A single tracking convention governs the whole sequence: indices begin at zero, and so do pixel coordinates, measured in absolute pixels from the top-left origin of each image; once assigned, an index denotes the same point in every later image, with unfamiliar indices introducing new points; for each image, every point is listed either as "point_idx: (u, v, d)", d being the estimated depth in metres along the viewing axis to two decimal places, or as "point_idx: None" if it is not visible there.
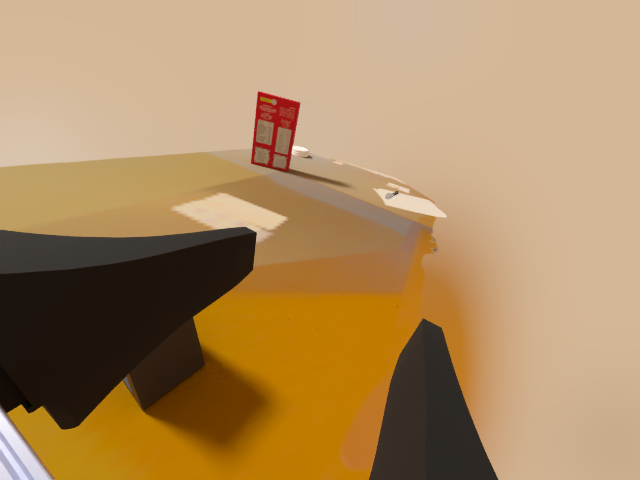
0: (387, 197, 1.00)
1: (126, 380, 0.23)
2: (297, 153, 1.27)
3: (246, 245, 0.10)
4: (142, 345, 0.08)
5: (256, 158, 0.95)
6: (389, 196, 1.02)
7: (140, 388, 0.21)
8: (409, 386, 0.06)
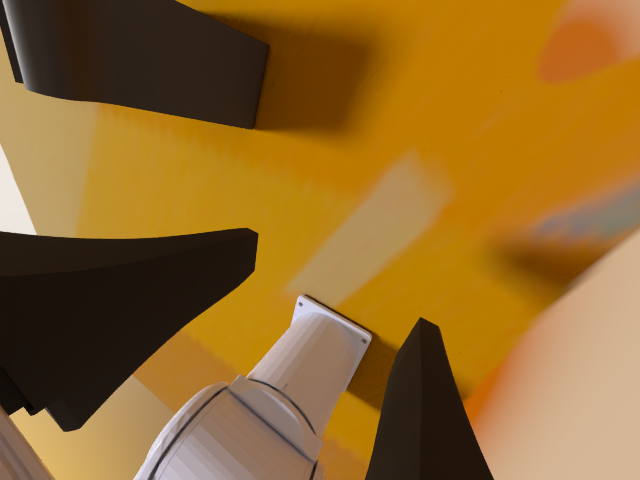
0: None
1: None
2: None
3: (248, 246, 0.10)
4: (144, 347, 0.07)
5: None
6: None
7: (227, 120, 0.19)
8: (405, 384, 0.06)
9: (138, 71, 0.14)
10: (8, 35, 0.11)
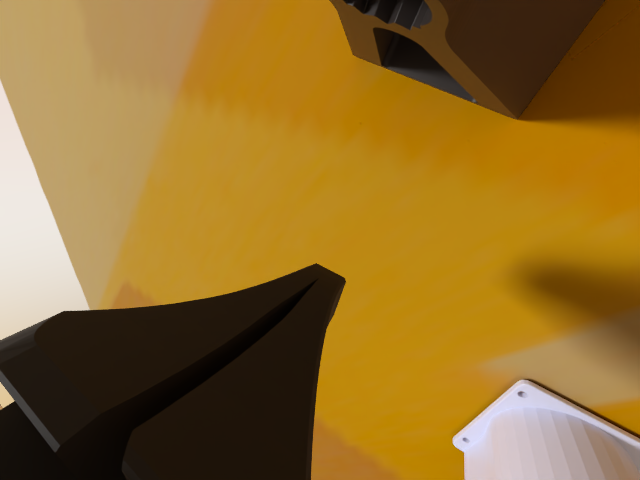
0: None
1: (446, 86, 0.12)
2: None
3: None
4: None
5: None
6: None
7: (515, 100, 0.10)
8: None
9: None
10: None
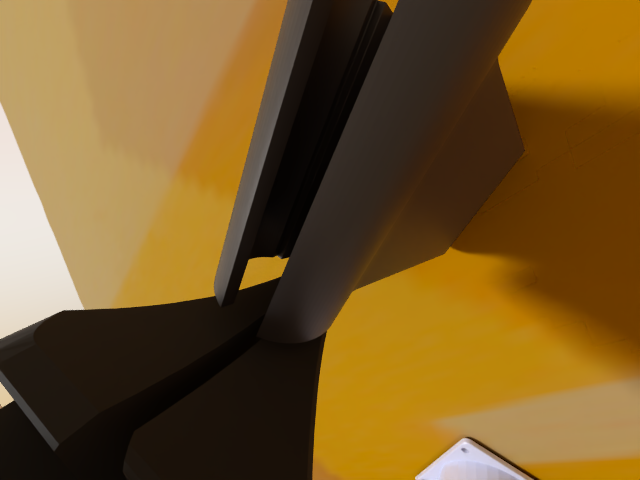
0: None
1: None
2: None
3: None
4: None
5: None
6: None
7: (435, 253, 0.12)
8: None
9: (409, 230, 0.07)
10: (254, 224, 0.04)
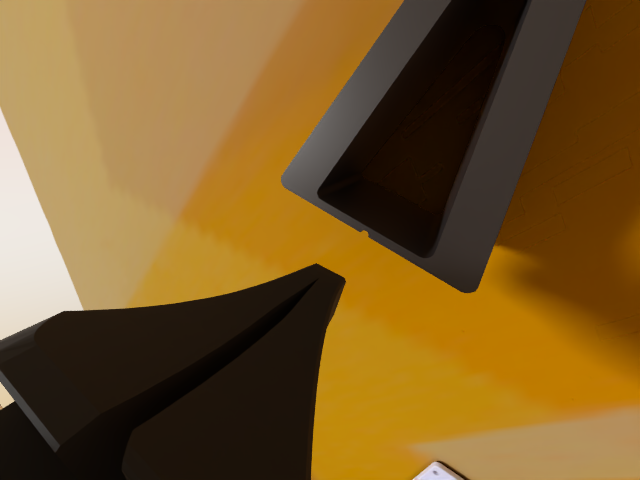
0: None
1: (388, 236, 0.10)
2: None
3: None
4: None
5: None
6: None
7: None
8: None
9: None
10: None
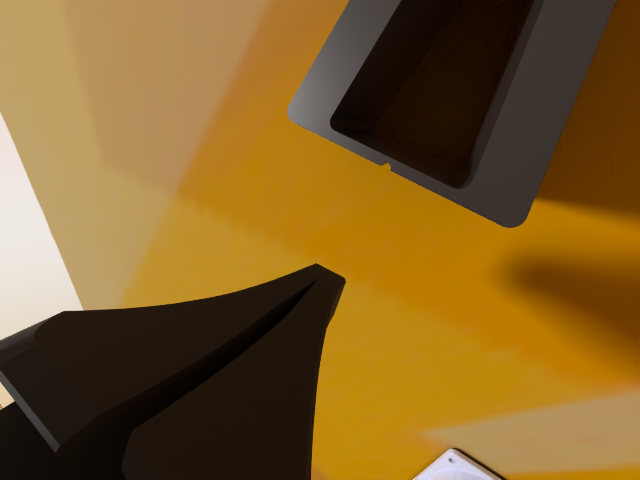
0: None
1: (415, 168, 0.08)
2: None
3: None
4: None
5: None
6: None
7: None
8: None
9: None
10: None
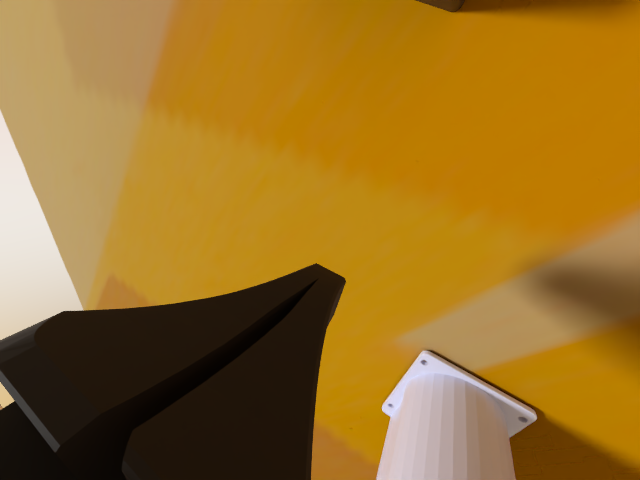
0: None
1: None
2: None
3: None
4: None
5: None
6: None
7: None
8: None
9: None
10: None
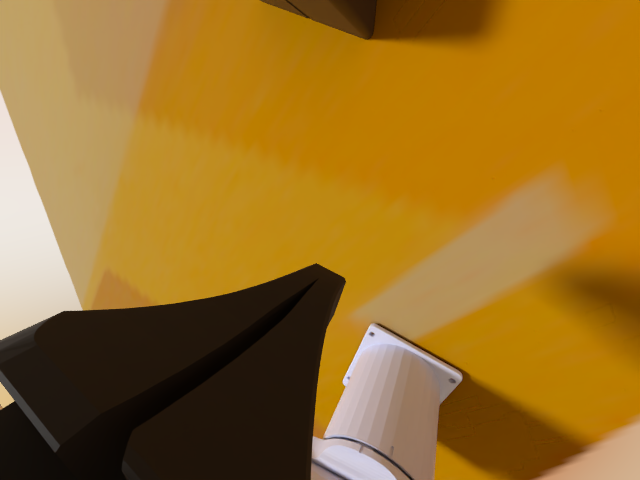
0: None
1: None
2: None
3: None
4: None
5: None
6: None
7: None
8: None
9: None
10: None
